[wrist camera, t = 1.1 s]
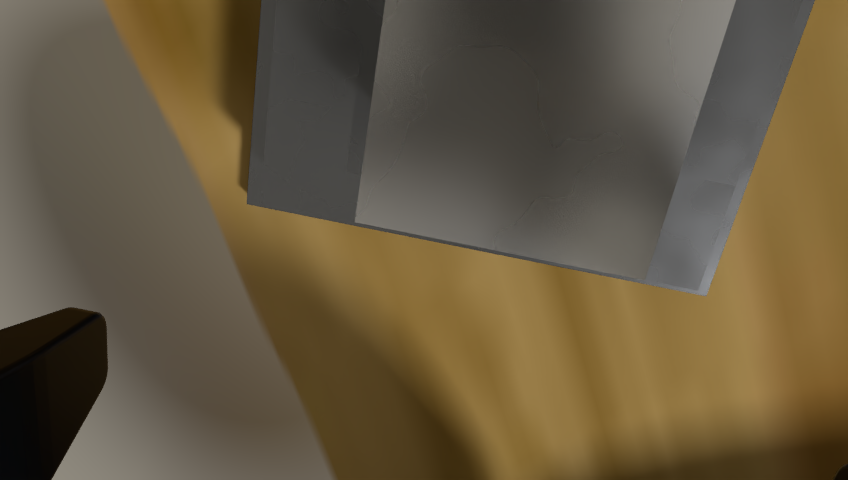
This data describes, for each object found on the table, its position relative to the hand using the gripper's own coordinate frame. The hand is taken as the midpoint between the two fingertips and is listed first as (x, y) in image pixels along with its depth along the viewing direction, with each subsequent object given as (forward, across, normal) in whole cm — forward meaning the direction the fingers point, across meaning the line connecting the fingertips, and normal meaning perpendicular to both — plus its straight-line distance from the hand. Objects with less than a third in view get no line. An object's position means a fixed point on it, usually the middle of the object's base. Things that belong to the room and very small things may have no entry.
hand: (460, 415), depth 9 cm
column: (+14, 0, -3) cm, 14 cm away
